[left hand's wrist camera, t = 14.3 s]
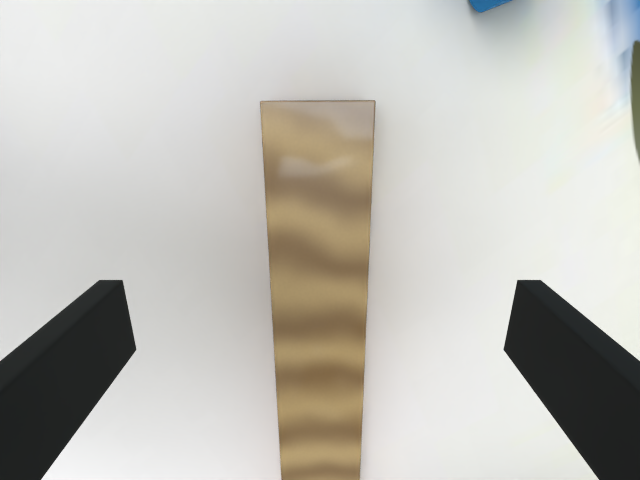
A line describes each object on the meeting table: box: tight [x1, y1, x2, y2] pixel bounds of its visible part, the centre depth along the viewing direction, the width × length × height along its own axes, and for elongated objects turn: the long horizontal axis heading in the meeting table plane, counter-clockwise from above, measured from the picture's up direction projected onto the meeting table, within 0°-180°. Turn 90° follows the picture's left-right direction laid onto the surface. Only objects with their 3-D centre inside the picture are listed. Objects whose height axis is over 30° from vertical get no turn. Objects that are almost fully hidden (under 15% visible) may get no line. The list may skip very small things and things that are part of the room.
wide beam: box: [260, 100, 375, 480], centre depth 42 cm, size 64×9×7 cm, turn 0°
